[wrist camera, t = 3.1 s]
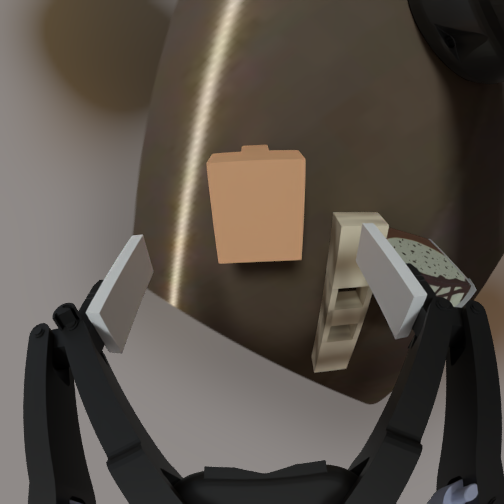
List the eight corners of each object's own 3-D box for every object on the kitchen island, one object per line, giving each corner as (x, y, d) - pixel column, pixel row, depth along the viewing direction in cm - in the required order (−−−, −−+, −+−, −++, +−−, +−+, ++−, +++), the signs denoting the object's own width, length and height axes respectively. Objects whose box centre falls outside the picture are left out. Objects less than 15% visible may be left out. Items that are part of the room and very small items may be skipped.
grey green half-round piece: (337, 263, 30) (363, 329, 22) (357, 216, 27) (398, 275, 18) (414, 277, 32) (448, 332, 23) (436, 239, 28) (479, 290, 20)
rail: (333, 212, 26) (341, 226, 24) (377, 212, 26) (389, 225, 24) (311, 356, 39) (314, 372, 37) (341, 353, 39) (346, 368, 37)
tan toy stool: (217, 145, 23) (206, 163, 17) (291, 142, 22) (305, 159, 17) (225, 225, 27) (218, 263, 21) (290, 222, 27) (301, 259, 21)
